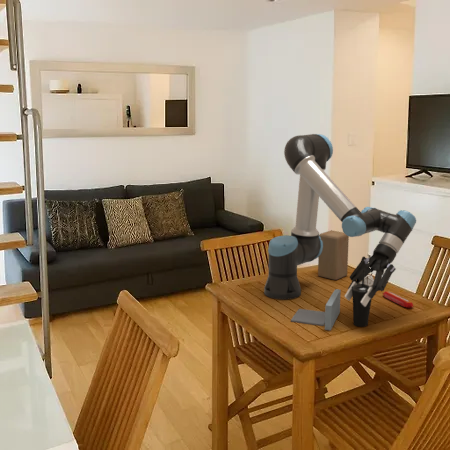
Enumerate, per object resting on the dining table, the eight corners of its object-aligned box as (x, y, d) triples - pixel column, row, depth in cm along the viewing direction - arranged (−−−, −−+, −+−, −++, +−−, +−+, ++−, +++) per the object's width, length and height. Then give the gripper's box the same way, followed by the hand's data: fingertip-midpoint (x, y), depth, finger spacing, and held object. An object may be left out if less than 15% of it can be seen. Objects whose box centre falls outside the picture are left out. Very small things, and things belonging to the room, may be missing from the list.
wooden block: (348, 275, 254) (349, 232, 249) (336, 281, 247) (337, 237, 242) (329, 271, 260) (330, 229, 256) (317, 276, 253) (318, 233, 249)
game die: (367, 299, 234) (380, 279, 235) (370, 299, 226) (383, 278, 227) (349, 287, 236) (361, 267, 236) (351, 287, 227) (364, 266, 228)
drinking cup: (367, 330, 194) (370, 275, 189) (346, 325, 198) (349, 271, 193) (374, 322, 200) (377, 269, 196) (353, 318, 204) (356, 266, 200)
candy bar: (414, 309, 214) (415, 301, 213) (407, 310, 212) (407, 303, 212) (388, 295, 228) (388, 288, 228) (380, 297, 227) (381, 290, 226)
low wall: (324, 329, 195) (325, 305, 193) (334, 311, 211) (335, 289, 209) (330, 330, 194) (331, 306, 192) (339, 312, 211) (340, 289, 209)
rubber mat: (290, 321, 202) (290, 320, 202) (298, 310, 213) (298, 308, 213) (323, 326, 198) (323, 324, 198) (330, 314, 209) (330, 312, 209)
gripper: (414, 260, 195) (381, 315, 189) (370, 249, 211) (339, 299, 205) (406, 248, 191) (372, 303, 185) (361, 237, 206) (329, 288, 201)
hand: (354, 301), depth 195 cm, fingers closed on drinking cup, 7 cm apart
